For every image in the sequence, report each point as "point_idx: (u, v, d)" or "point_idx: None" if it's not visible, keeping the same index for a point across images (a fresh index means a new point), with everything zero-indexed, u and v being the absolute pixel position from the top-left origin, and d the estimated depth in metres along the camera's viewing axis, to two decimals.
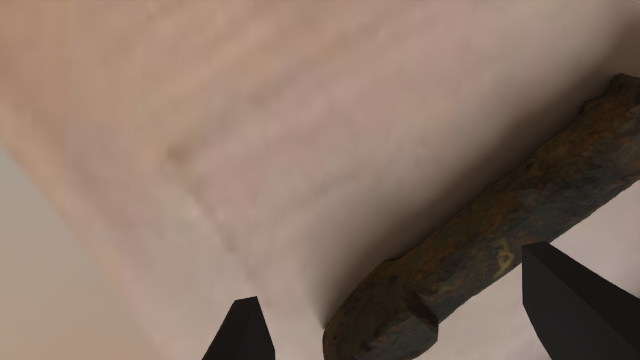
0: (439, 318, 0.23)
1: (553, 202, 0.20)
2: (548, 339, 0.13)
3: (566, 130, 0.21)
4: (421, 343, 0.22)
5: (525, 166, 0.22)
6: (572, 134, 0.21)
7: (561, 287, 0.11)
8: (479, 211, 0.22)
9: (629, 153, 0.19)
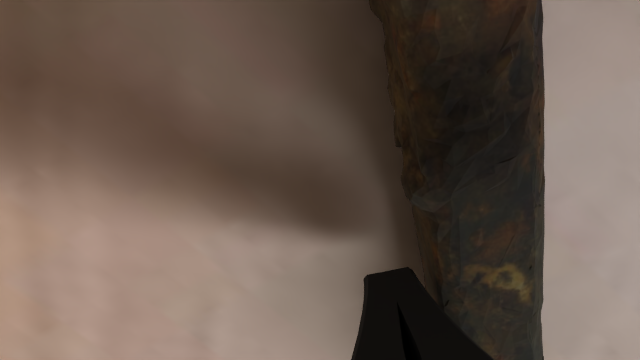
0: None
1: (456, 180, 0.11)
2: None
3: (386, 59, 0.12)
4: None
5: None
6: (392, 61, 0.11)
7: (402, 317, 0.11)
8: (422, 241, 0.13)
9: (458, 22, 0.09)
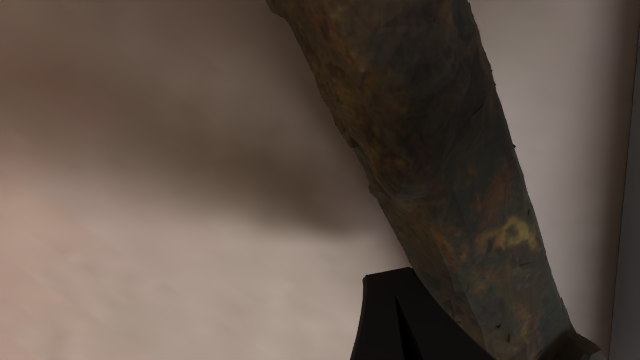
0: (566, 334, 0.13)
1: (441, 149, 0.10)
2: None
3: (307, 58, 0.10)
4: None
5: None
6: (318, 56, 0.10)
7: (403, 316, 0.11)
8: (411, 238, 0.12)
9: None
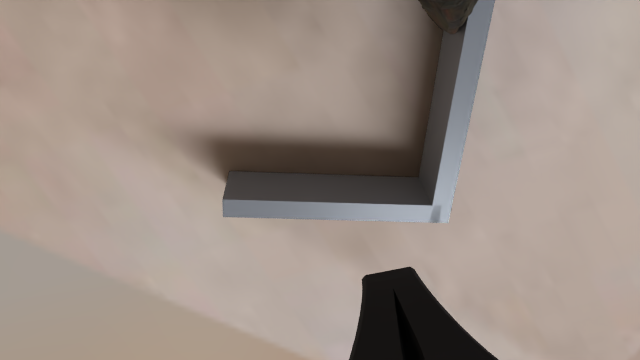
0: None
1: None
2: None
3: None
4: None
5: None
6: None
7: (404, 316, 0.11)
8: None
9: None
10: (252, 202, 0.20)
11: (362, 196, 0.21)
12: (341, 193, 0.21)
